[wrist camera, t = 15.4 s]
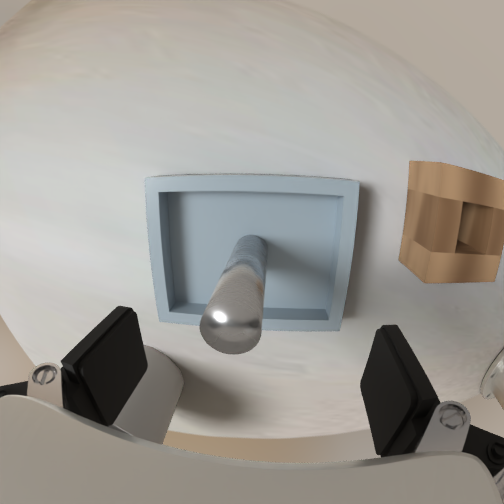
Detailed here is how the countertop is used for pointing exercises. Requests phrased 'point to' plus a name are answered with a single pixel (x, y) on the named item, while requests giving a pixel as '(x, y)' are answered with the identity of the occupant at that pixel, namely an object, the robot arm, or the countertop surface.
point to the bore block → (452, 224)
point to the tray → (260, 224)
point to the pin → (238, 299)
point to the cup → (152, 399)
